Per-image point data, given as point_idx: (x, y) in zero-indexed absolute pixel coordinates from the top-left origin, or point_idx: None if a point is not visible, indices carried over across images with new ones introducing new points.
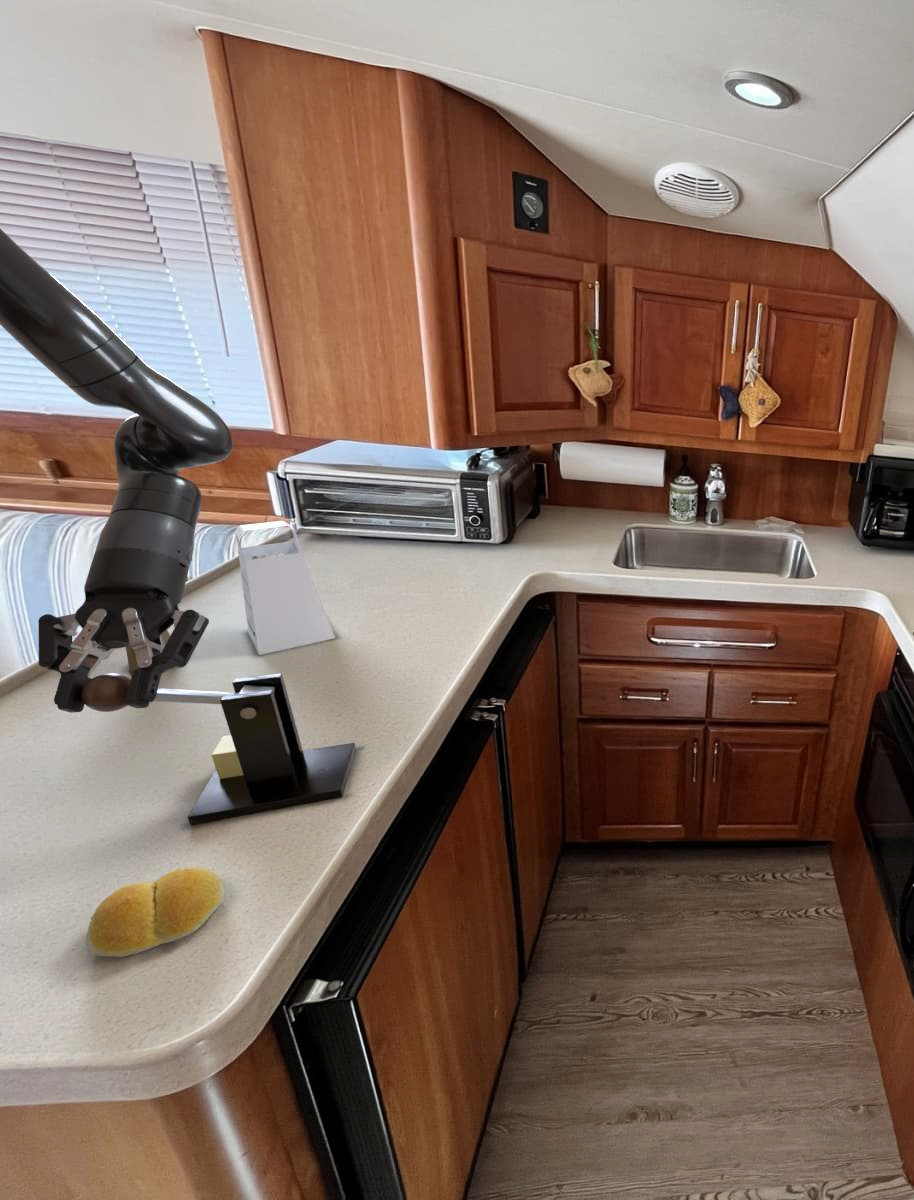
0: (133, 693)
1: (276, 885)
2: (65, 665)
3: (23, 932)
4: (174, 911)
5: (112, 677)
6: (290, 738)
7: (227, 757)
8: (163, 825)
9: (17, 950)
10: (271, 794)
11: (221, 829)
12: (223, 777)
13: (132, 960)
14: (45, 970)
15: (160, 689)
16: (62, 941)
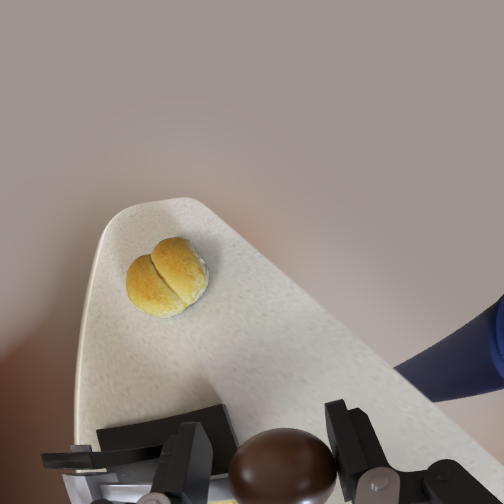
0: (179, 436)
1: (109, 316)
2: (381, 482)
3: (269, 268)
4: (138, 258)
5: (253, 486)
6: None
7: None
8: (256, 406)
9: (257, 253)
10: (154, 435)
11: (188, 396)
12: None
13: None
14: (221, 240)
15: None
16: (230, 262)
